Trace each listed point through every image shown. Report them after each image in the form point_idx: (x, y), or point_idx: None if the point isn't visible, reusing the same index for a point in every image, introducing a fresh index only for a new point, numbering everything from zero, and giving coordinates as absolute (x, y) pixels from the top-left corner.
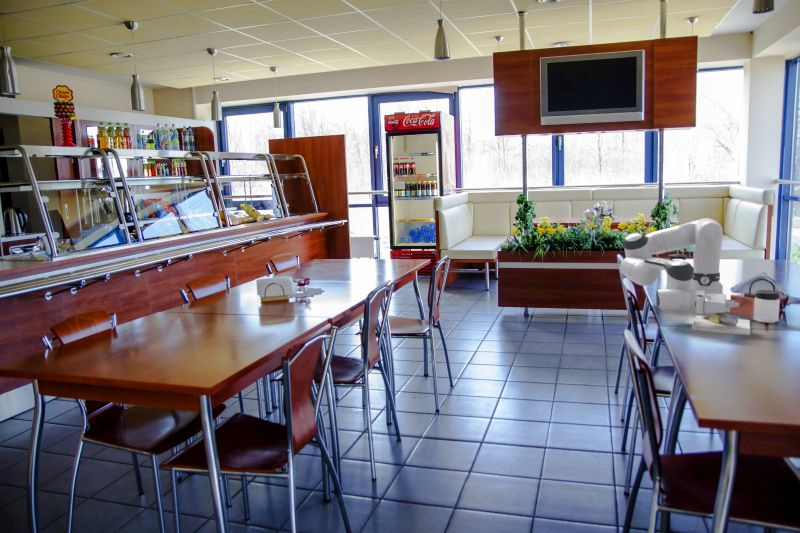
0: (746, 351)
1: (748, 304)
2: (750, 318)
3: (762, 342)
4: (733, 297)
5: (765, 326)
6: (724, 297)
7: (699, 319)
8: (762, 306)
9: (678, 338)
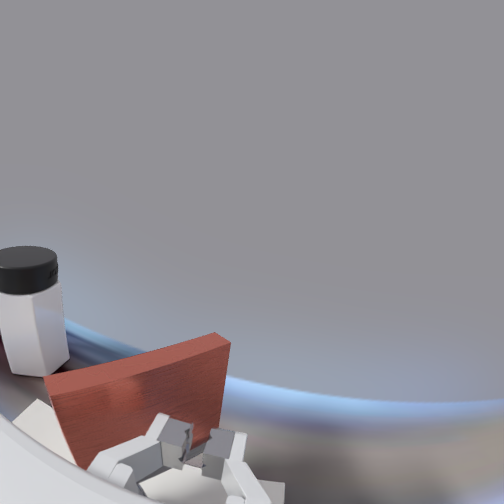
0: (501, 470)
1: (205, 388)
2: None
3: (379, 458)
4: (82, 403)
5: None
6: (77, 477)
7: None
8: (39, 322)
9: None
